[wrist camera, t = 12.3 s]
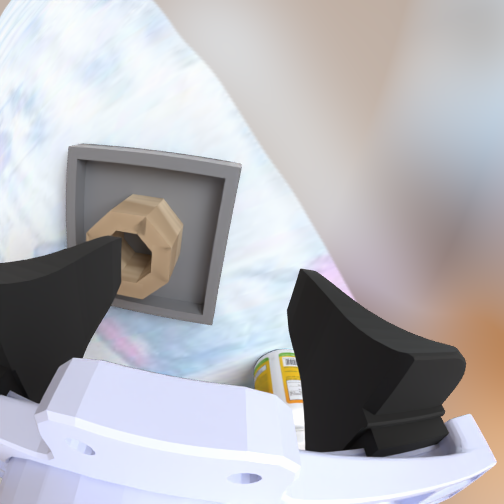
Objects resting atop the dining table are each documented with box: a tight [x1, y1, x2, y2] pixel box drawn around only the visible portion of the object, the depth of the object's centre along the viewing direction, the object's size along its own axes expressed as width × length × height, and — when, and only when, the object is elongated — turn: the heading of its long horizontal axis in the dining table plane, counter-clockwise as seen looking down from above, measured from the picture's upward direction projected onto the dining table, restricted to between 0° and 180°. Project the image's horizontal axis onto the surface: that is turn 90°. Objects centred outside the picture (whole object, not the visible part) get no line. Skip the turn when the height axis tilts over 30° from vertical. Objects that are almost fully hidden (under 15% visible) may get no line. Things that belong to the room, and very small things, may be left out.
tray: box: [66, 144, 242, 325], centre depth 19 cm, size 12×12×2 cm
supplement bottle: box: [254, 349, 305, 450], centre depth 22 cm, size 5×5×10 cm
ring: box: [86, 194, 183, 299], centre depth 18 cm, size 5×5×4 cm
